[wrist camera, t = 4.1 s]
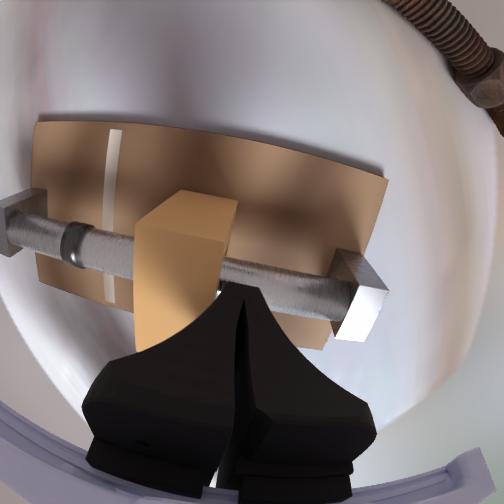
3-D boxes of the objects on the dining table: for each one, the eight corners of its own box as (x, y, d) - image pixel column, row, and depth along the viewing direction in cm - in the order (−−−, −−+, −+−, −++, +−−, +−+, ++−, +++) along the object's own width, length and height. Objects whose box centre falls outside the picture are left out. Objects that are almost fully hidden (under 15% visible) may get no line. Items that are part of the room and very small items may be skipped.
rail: (358, 249, 16) (390, 292, 11) (341, 291, 17) (364, 343, 12) (38, 185, 14) (-11, 205, 10) (39, 225, 16) (-6, 252, 11)
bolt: (481, 130, 14) (329, -16, 10) (518, 96, 10) (369, -58, 6) (514, 169, 10) (325, -32, 7) (559, 129, 6) (380, -85, 3)
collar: (238, 200, 14) (224, 242, 9) (219, 297, 16) (203, 368, 11) (181, 189, 14) (135, 223, 8) (169, 286, 16) (136, 351, 11)
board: (384, 178, 14) (389, 180, 13) (320, 344, 19) (322, 350, 18) (40, 121, 13) (34, 122, 12) (43, 277, 17) (39, 281, 17)
